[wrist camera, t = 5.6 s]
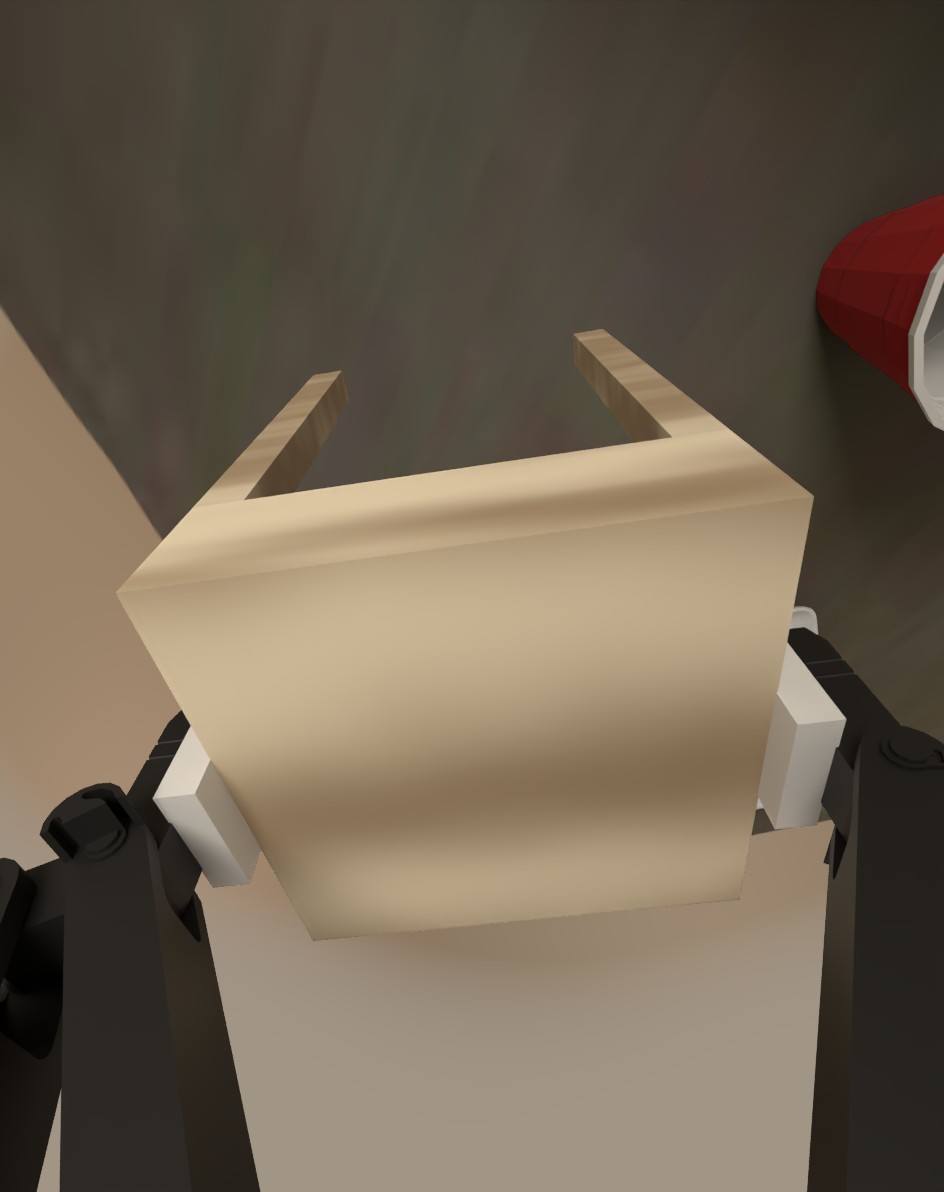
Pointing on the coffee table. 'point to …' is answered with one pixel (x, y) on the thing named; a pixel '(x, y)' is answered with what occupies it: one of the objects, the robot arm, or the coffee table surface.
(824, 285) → the plastic cup
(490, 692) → the wooden stool
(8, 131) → the coffee table surface
